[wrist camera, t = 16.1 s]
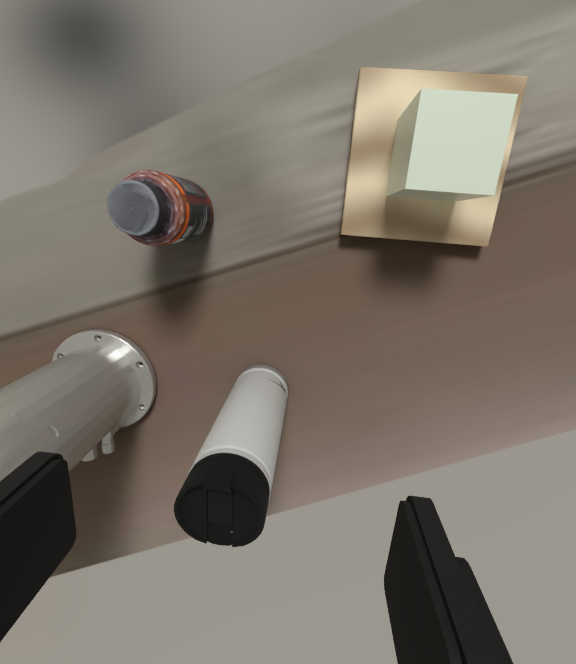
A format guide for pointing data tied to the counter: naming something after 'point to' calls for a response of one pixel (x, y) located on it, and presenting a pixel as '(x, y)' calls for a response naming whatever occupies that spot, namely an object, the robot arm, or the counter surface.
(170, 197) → the supplement bottle
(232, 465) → the travel mug
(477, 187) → the pale green block
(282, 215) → the counter surface
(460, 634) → the robot arm
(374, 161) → the post board
